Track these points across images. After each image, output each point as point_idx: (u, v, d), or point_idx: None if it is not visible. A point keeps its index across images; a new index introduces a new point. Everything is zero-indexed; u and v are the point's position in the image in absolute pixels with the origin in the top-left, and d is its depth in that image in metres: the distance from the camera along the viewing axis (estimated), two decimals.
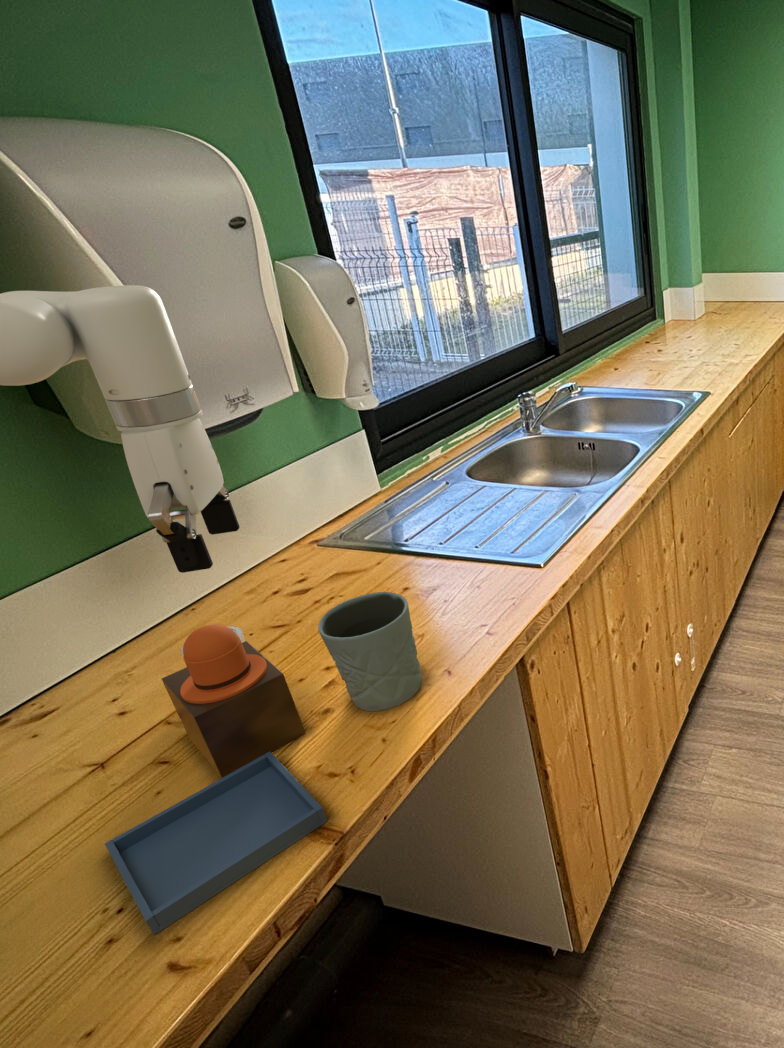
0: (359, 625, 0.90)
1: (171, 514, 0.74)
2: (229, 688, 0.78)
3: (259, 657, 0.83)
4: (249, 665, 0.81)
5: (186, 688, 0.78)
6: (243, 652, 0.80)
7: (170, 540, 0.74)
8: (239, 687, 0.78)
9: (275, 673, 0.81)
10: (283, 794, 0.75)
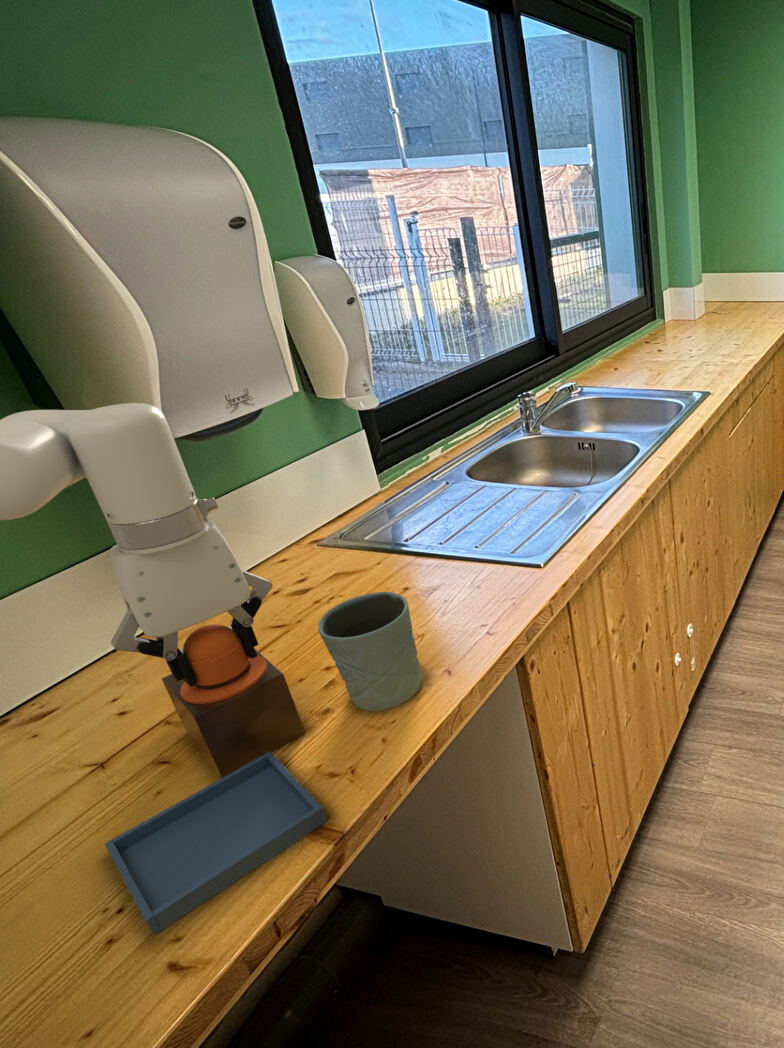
0: (359, 625, 0.90)
1: None
2: (229, 688, 0.78)
3: (259, 657, 0.83)
4: (249, 665, 0.81)
5: (186, 688, 0.78)
6: (243, 652, 0.80)
7: None
8: (239, 687, 0.78)
9: (275, 673, 0.81)
10: (283, 794, 0.75)
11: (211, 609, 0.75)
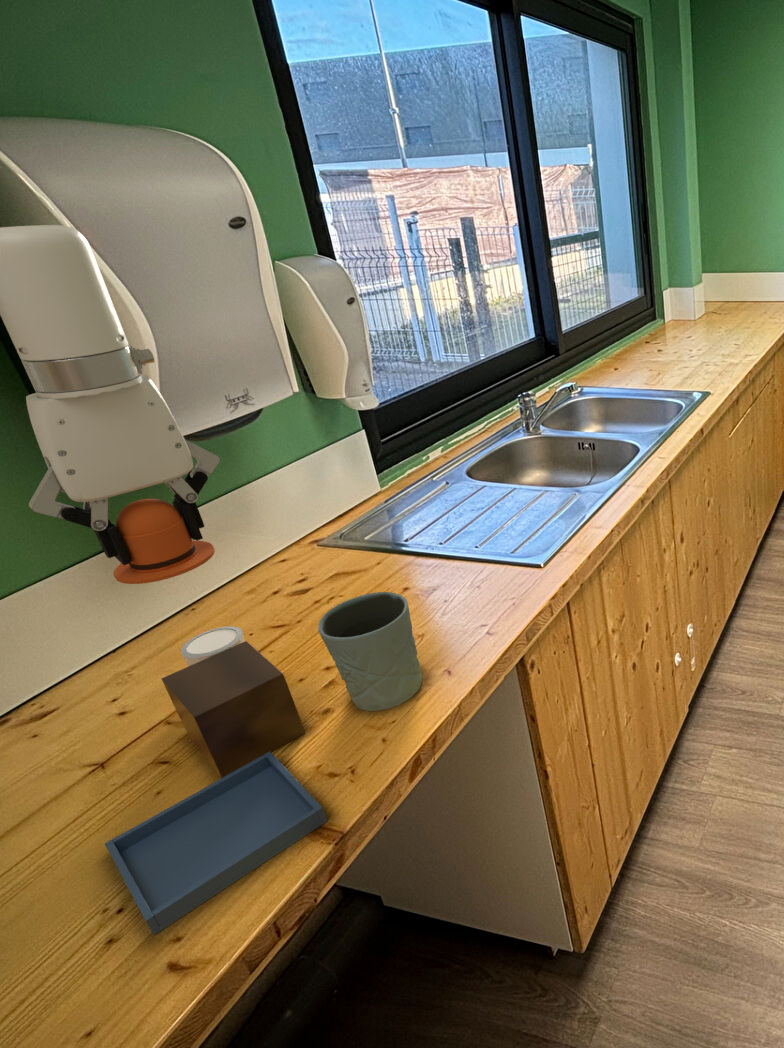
0: (359, 625, 0.90)
1: None
2: (169, 569, 0.69)
3: (206, 543, 0.75)
4: (193, 548, 0.72)
5: (120, 570, 0.70)
6: (186, 532, 0.71)
7: None
8: (181, 568, 0.70)
9: (275, 673, 0.81)
10: (283, 794, 0.75)
11: (147, 475, 0.67)
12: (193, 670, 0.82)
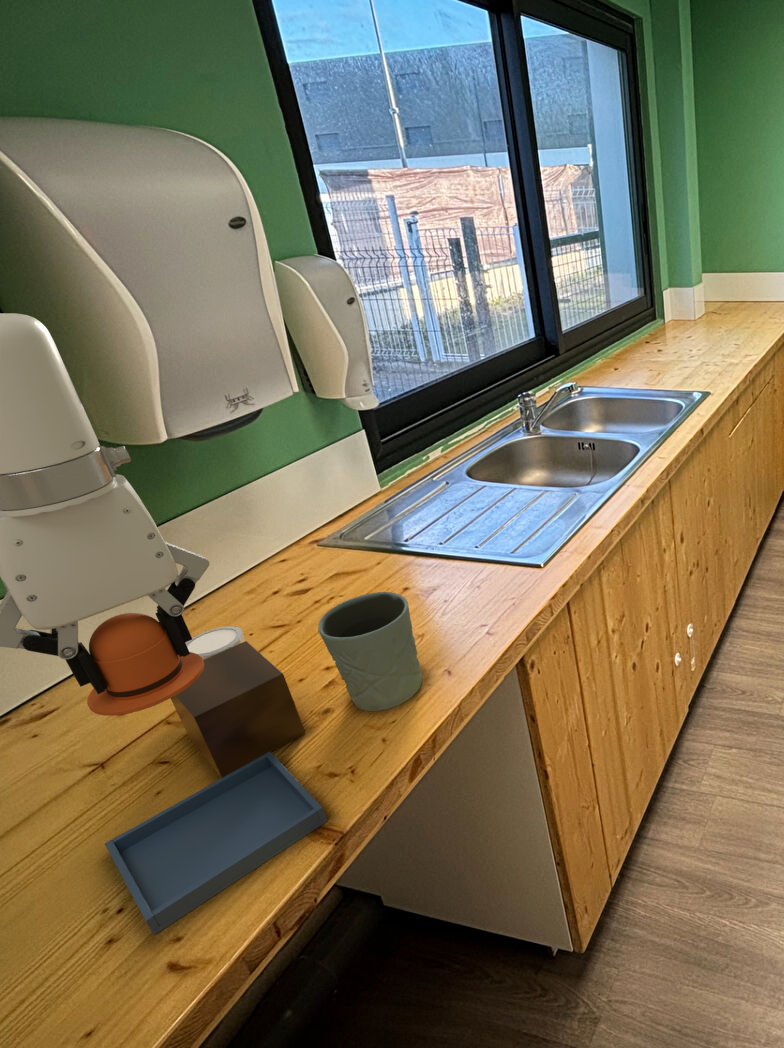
0: (359, 625, 0.90)
1: None
2: (151, 695, 0.60)
3: (195, 655, 0.65)
4: (179, 665, 0.63)
5: (95, 695, 0.61)
6: (171, 649, 0.62)
7: None
8: (164, 694, 0.60)
9: (275, 673, 0.81)
10: (283, 794, 0.75)
11: (123, 592, 0.58)
12: None
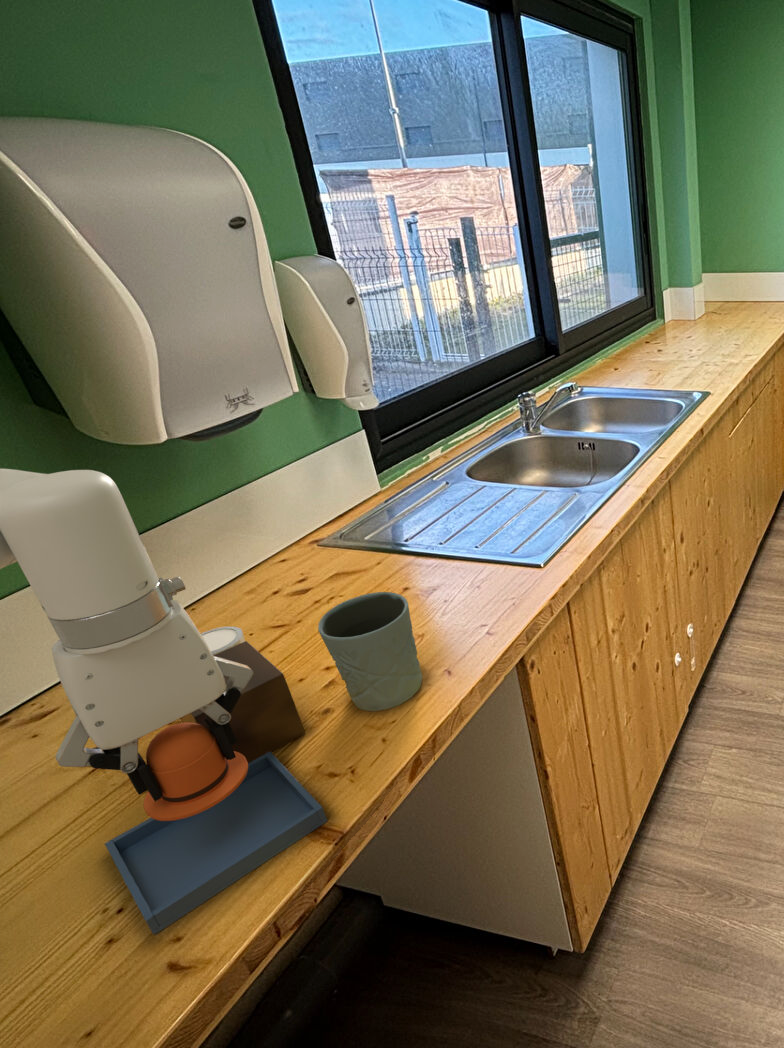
0: (359, 625, 0.90)
1: None
2: (202, 799, 0.66)
3: (239, 755, 0.71)
4: (226, 768, 0.68)
5: (150, 799, 0.66)
6: (219, 754, 0.67)
7: None
8: (214, 798, 0.66)
9: (275, 673, 0.81)
10: (283, 794, 0.75)
11: (178, 709, 0.63)
12: None
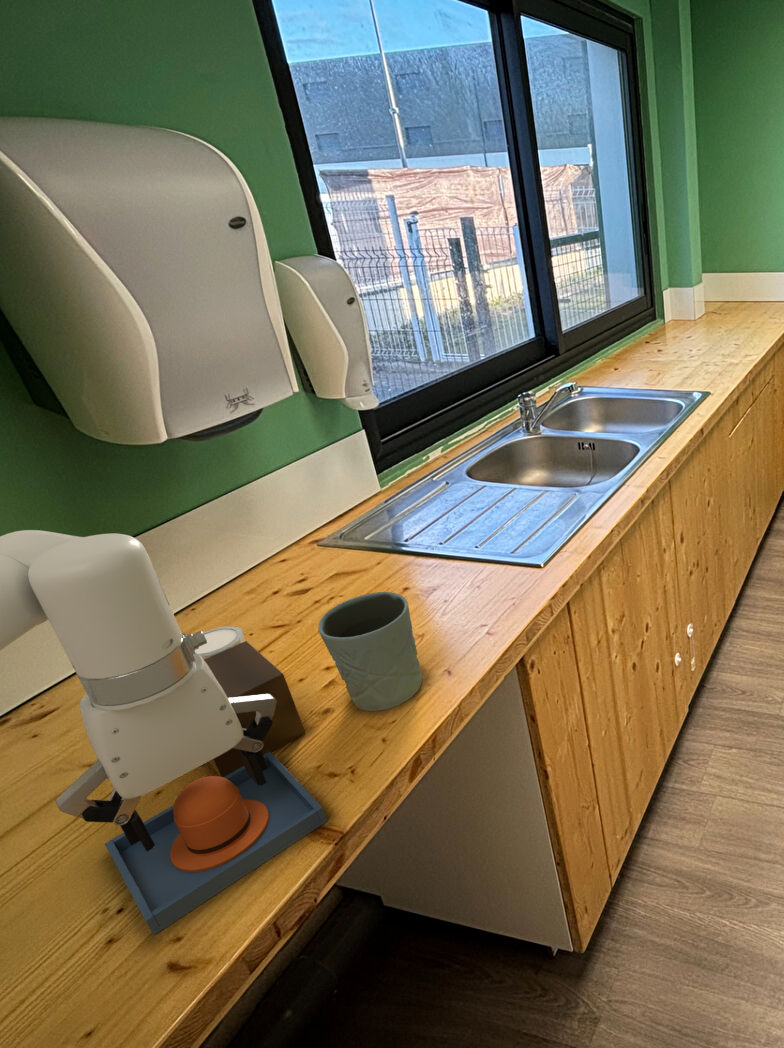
0: (359, 625, 0.90)
1: None
2: (226, 851, 0.69)
3: (260, 804, 0.74)
4: (249, 819, 0.71)
5: (177, 850, 0.69)
6: (242, 806, 0.70)
7: None
8: (237, 849, 0.69)
9: (275, 673, 0.81)
10: (283, 794, 0.75)
11: (198, 758, 0.66)
12: None
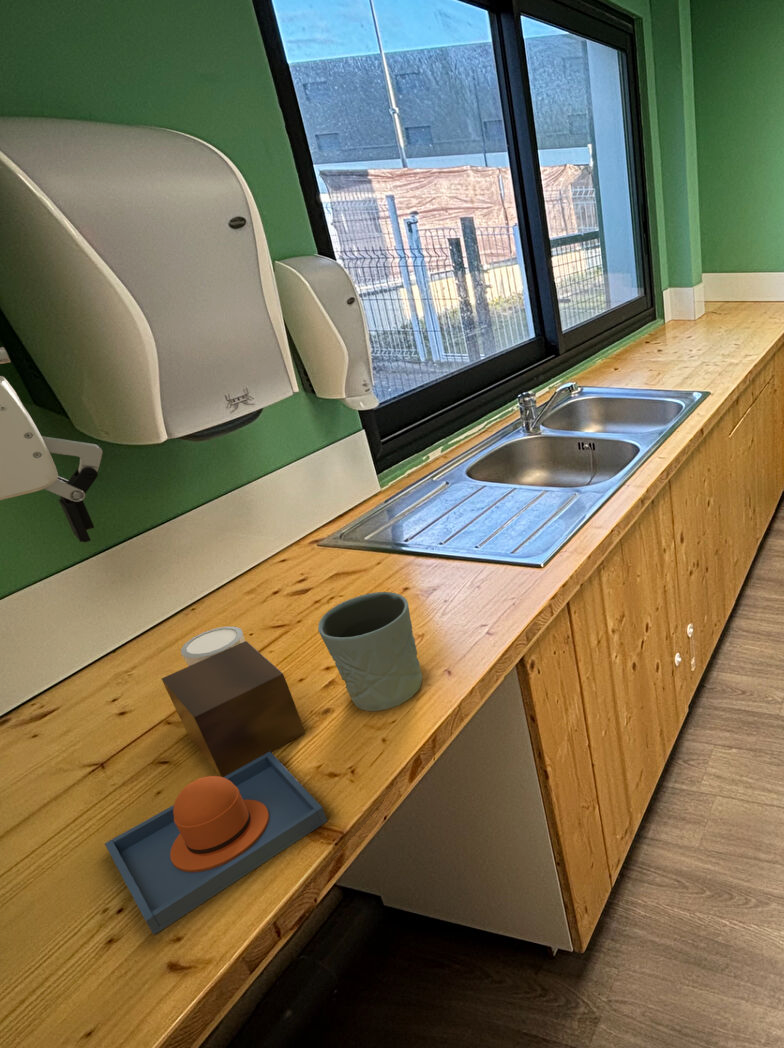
0: (359, 625, 0.90)
1: None
2: (226, 851, 0.69)
3: (260, 804, 0.74)
4: (249, 819, 0.71)
5: (177, 850, 0.69)
6: (242, 806, 0.70)
7: None
8: (237, 849, 0.69)
9: (275, 673, 0.81)
10: (283, 794, 0.75)
11: None
12: (193, 670, 0.82)
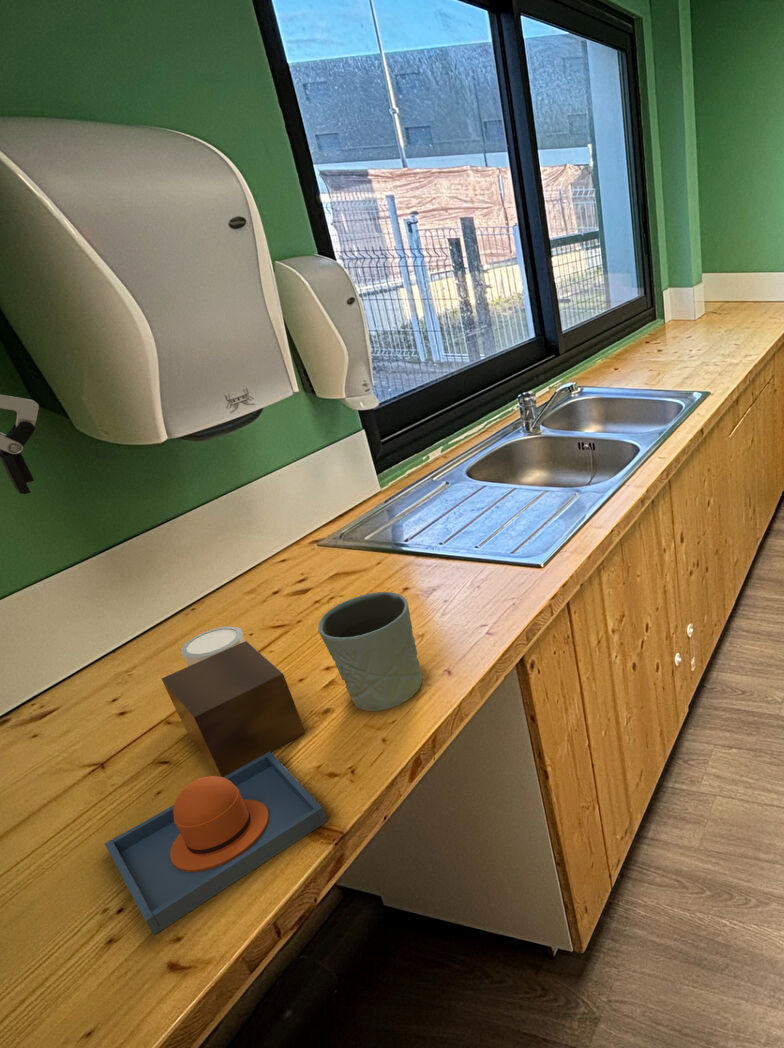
0: (359, 625, 0.90)
1: None
2: (226, 851, 0.69)
3: (260, 804, 0.74)
4: (249, 819, 0.71)
5: (177, 850, 0.69)
6: (242, 806, 0.70)
7: None
8: (237, 849, 0.69)
9: (275, 673, 0.81)
10: (283, 794, 0.75)
11: None
12: (193, 670, 0.82)
